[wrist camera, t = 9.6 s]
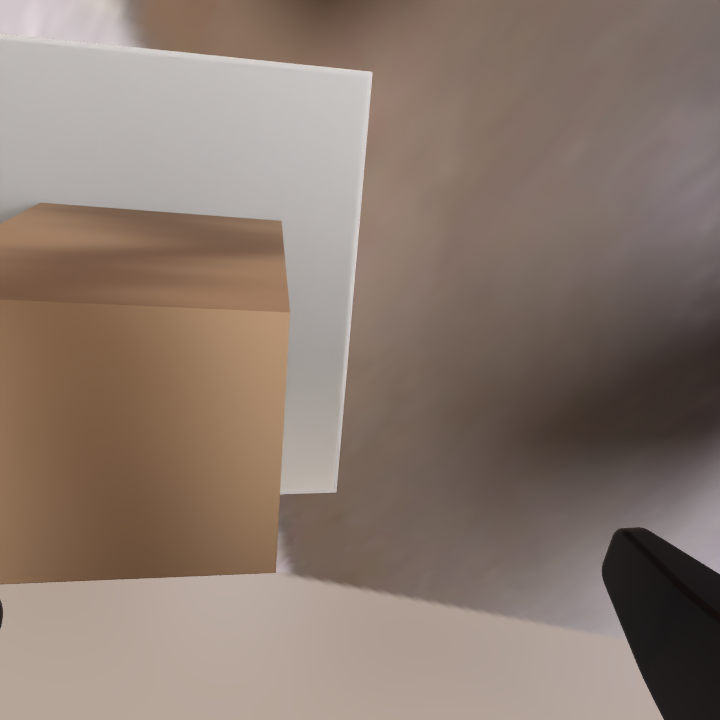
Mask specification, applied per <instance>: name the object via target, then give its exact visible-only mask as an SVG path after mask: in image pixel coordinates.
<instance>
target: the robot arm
mask: <svg viewBox="0 0 720 720" xmlns="http://www.w3.org/2000/svg"><path fill="white" fill-rule="evenodd" d="M602 577H603V581H604V584H605V586H606V589H607V591H608V594H609V596H610V599H611V601H612V604H613V606H614V609H615V611H616V613H617V616H618V618H619V621H620V623H621V626H622V628H623V631H624V633H625V636H626V638H627V641H628V643H629V645H630V648H631V650H632V653H633V655H634V658H635V660H636V663H637V665H638V667H639V670H640V672H641V674H642V676H643V679H644V681H645V683H646V685H647V687H648V689H649V691H650V693H651V695H652V697H653V699H654V701H655V703H656V705H657V707H658V709H659V711H660V713H661V715H662V717H663V719H664V720H720V574H718V573H717V572H715V571H713V570H712V569H710V568H709V567H707V566H705V565H704V564H702V563H701V562H699V561H697V560H696V559H694V558H693V557H691V556H689V555H688V554H686V553H684V552H683V551H681V550H680V549H678V548H676V547H675V546H673V545H672V544H670V543H668V542H667V541H665V540H663V539H662V538H660V537H659V536H657V535H655V534H654V533H652V532H651V531H649V530H647V529H645V528H640V527H638V528H621V529H618V530H617V531H616V532H615V533H614V535H613V537H612V540H611V542H610V545H609V548H608V551H607V553H606V556H605V559H604V562H603V565H602ZM2 618H3V608H2V603H1V601H0V628H1V624H2Z"/></svg>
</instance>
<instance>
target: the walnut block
mask: <svg viewBox="0 0 720 720" xmlns="http://www.w3.org/2000/svg"><path fill="white" fill-rule="evenodd" d="M289 322H290V307H289V296H288V285H287V274H286V263H285V253H284V242H283V231H282V221H278V220H264V219H251V218H238V217H225V216H211V215H198V214H185V213H172V212H158V211H145V210H132V209H119V208H106V207H92V206H79V205H66V204H53V203H38V204H36V205H35V206H33V207H31V208H29V209H27V210H25V211H23V212H22V213H20V214H18V215H16V216H14V217H12V218H11V219H9V220H7V221H5V222H3V223H1V224H0V584H19V583H43V582H66V581H89V580H114V579H139V578H162V577H186V576H211V575H233V574H258V573H276V557H277V539H278V521H279V503H280V485H281V467H282V449H283V431H284V412H285V394H286V376H287V358H288V340H289Z"/></svg>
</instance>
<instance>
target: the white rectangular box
mask: <svg viewBox="0 0 720 720" xmlns="http://www.w3.org/2000/svg"><path fill="white" fill-rule="evenodd" d="M371 82H372V72H368V71H359V70H349V69H339V68H329V67H320V66H310V65H300V64H291V63H281V62H271V61H261V60H252V59H242V58H232V57H223V56H213V55H203V54H193V53H184V52H174V51H164V50H155V49H145V48H135V47H125V46H116V45H106V44H96V43H87V42H77V41H67V40H57V39H48V38H38V37H28V36H18V35H9V34H0V224H1V223H3V222H5V221H7V220H9V219H11V218H12V217H14V216H16V215H18V214H20V213H22V212H23V211H25V210H27V209H29V208H31V207H33V206H35V205H36V204H38V203H53V204H66V205H79V206H92V207H106V208H119V209H132V210H145V211H158V212H172V213H185V214H198V215H211V216H225V217H238V218H251V219H264V220H278V221H282V231H283V242H284V253H285V263H286V274H287V285H288V296H289V307H290V322H289V340H288V358H287V376H286V394H285V412H284V431H283V449H282V467H281V485H280V494H300V493H330V492H336V490H337V478H338V467H339V455H340V444H341V432H342V420H343V409H344V397H345V385H346V374H347V362H348V350H349V339H350V327H351V315H352V304H353V292H354V280H355V269H356V257H357V245H358V234H359V222H360V211H361V199H362V187H363V176H364V164H365V152H366V141H367V129H368V117H369V106H370V94H371Z"/></svg>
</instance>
